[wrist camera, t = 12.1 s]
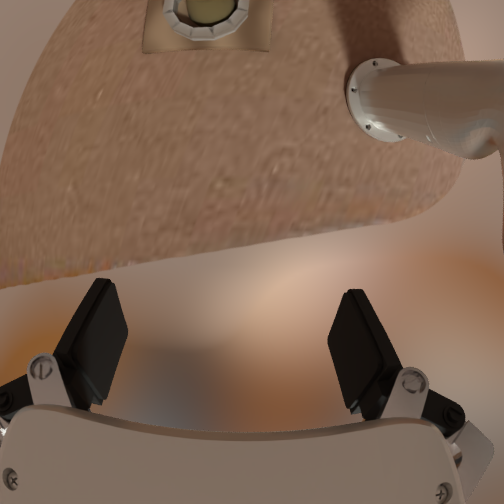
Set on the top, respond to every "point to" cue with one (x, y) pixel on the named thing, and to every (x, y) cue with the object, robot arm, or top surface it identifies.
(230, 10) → the olive green peg
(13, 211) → the top surface
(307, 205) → the top surface
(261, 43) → the socket board
